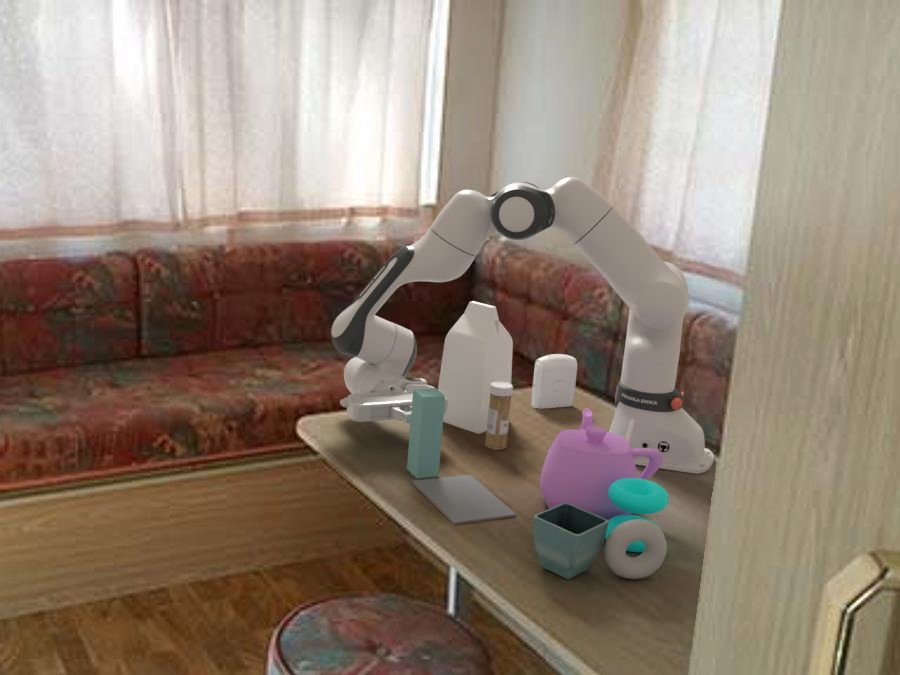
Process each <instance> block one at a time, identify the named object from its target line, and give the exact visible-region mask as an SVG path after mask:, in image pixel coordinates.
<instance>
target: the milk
mask: <svg viewBox="0 0 900 675" xmlns="http://www.w3.org/2000/svg"><path fill="white" fill-rule="evenodd" d="M498 315H499V314H498V310H497V307H496V306H495V305H490V304H487V303H482V302H478V301H475V300H472V301H469V303H468V304H467V306H466V309H465V310H464V313H463V314H462V315H461V316H460V317H459V318H458V319H457V321H456V322H455V323H454V325H453V326H452V327H451V328H450V329H449V331H448V332H447V334H446V336H445V339H444V344H443V350H442V358H441V366H440V372H439V379H438V385H437V389H438V390H439V391H440V392H442V393H443V394H444V395H445V396H446V397H447V399H448V406H447V412H446V414H445V415H444V417H443V423H446V424H449V425H452V426H454V427H457V428H460V429H463V430H465V431H469V432H471V433H472V432H473V433H475V434H478V435H479V434H483V433H484V432H487V421H488V410H489V403H490V385H491V383H492V382H497V381H501V382H507V383H510V384H512V368H513V350H514V348H513V347H514V341H513V338H512V336H511V334H510V332H509V331H508V330H507V329H506V327H505V326H504V325H503V323H501V321H500V320H499V316H498Z"/></svg>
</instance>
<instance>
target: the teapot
mask: <svg viewBox="0 0 900 675" xmlns="http://www.w3.org/2000/svg"><path fill="white" fill-rule="evenodd" d="M593 415H594V413H593V412H592V411H591V409H590V408H586V407H585V408H584V409H583V410H582V419H581V420H582V421H581V425H580V429H572V428H571V429H564V430H561V431H560V432H559V433H558V435H557V436H556V438H555V439H554V441H553V442H552V445H551V446H550V448H549V450H548V451H547V454H546V457H545V460H544V464H543V466H542V470H541V475H540V480H539V485H540V492H541V495H542V498H543V500H544V502H545V505H546V506H547V508H548V509H551V508H553V507H555V506H557V505H559V504H562V503H569V504H572V505H574V506H576V507H579V508H581V509H583V510H586V511H588V512H590V513H593V514H595V515H597V516H600V517H602V518H604V519H607V520H609V519H611V518H613V517H615V516H619V515H632V513H630V512H627V511H624V510H622V509H620V508H619V507H617V506H616V505H615V504H614V503H613V502H612V501H611V500H610V498H609V494H608V490H609V487H610V485H611V484H612V483H613V482H615V481H617V480H619V479H624V478H639V479H645V480H650V478H651V477H652V476H654V475H655V474H656V473H657V471H658V470H659V469H660V468H659V467H660V465H661V463H662V461H663V455H662V453H661V452H660V451H658V450H656V449H649V448H637V449H630V446H629V443H628V441H627V440H626V439H625V438H624V437H623V436H621V435H618V434H614V433H609V431H608V432H607V430H606V429H605V428H603V427H599V426H595V425H594V416H593ZM634 456H644V457H648V458H649V462H648V464H647V466H645V468H644V470H643V471H642V473H640V475H639V476H638V471H637V467H636V466H637V465H636V464H635V462H634V459H633V457H634Z"/></svg>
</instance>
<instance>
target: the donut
mask: <svg viewBox="0 0 900 675" xmlns="http://www.w3.org/2000/svg"><path fill="white" fill-rule="evenodd" d="M655 524H656V523H655ZM655 524H653V523H651V522H649V521H646V520H641V519H636V520H629V521H626V522H624V523H622V524H620V525H618V526H617V527H616V528H615V529H614V530H613V531H612V532H611V533H610V535H609V536H608V538H607V540H606V539H605V541H606V542H605V543H604V547H603V548H604V549H603V550H604V559H605V561H606V564H607V567H608V568H610V570H611V571H612V572H614V574H615V575H618V576H619V577H621V578H623V579H629V580H638V579H644V578H646V577H648V576H650V575H652V574H653V573H655V572H656V571H657V570H659V568H660V567H661V566H662V564H663V563H664V561H665V558H666V555H667V552H668V547H667V546H668V544H667V540H666V536H665V534H664V532H663V530H662V529H661V528H660V526H659V525H658V524H656V525H655ZM659 528H660V529H661V530H660V529H659ZM635 541H642V542H644V543H645V550H644V552H641V554H639V555H638V556H634V557H631V556H628V554H627V551H626V549H627V547H628V546H629V545H630V544H631V543H633V542H635Z"/></svg>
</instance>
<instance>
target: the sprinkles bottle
mask: <svg viewBox="0 0 900 675" xmlns="http://www.w3.org/2000/svg"><path fill="white" fill-rule="evenodd" d="M513 391H514V386H513V384H512V383H511V384H510V383H507V382H501V381H497V382H492V383H491V385H490V403H489V410H488V421H487V431H486V435H485V436H486V437H485V442H484V445H485V447H486V448H488V449H489V450H493V451H502V450H505V449H506V448H507V447H508V445H507V444H508V443H507V440H508V433H509V426H510V425H509V423H510V412H511V403H512V402H511V400H512V395H513Z"/></svg>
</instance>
